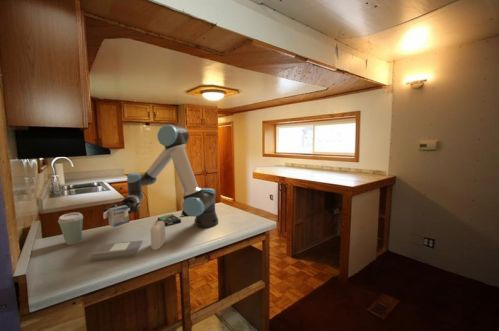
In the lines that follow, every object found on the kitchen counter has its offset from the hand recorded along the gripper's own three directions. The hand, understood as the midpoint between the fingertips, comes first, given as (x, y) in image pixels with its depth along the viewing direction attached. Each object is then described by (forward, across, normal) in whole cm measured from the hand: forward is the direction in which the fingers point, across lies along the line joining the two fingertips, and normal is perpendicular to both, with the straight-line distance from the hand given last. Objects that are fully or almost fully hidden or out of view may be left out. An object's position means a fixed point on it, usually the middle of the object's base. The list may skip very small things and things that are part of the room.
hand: (114, 215), depth 109 cm
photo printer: (-2, -19, -18) cm, 26 cm away
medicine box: (-5, 0, -6) cm, 8 cm away
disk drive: (-38, -18, -19) cm, 46 cm away
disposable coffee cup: (-15, +27, -18) cm, 36 cm away
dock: (0, -1, -18) cm, 18 cm away
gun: (-51, -32, -18) cm, 63 cm away
